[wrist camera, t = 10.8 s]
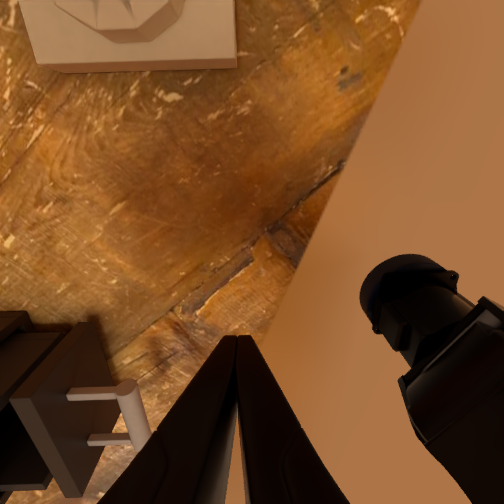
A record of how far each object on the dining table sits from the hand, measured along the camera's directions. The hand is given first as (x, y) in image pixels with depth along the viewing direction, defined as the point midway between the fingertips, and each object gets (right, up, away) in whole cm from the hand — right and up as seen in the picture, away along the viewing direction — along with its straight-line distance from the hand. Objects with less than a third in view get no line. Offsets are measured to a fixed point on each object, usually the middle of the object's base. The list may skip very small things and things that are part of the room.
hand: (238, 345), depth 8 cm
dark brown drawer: (-16, -8, +15) cm, 23 cm away
